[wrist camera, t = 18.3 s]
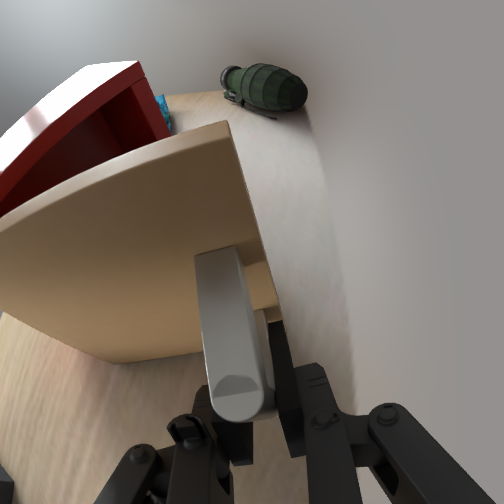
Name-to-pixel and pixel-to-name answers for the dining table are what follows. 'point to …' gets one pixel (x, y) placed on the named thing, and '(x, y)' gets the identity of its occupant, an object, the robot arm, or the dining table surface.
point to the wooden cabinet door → (152, 266)
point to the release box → (5, 487)
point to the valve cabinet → (78, 130)
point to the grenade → (264, 87)
